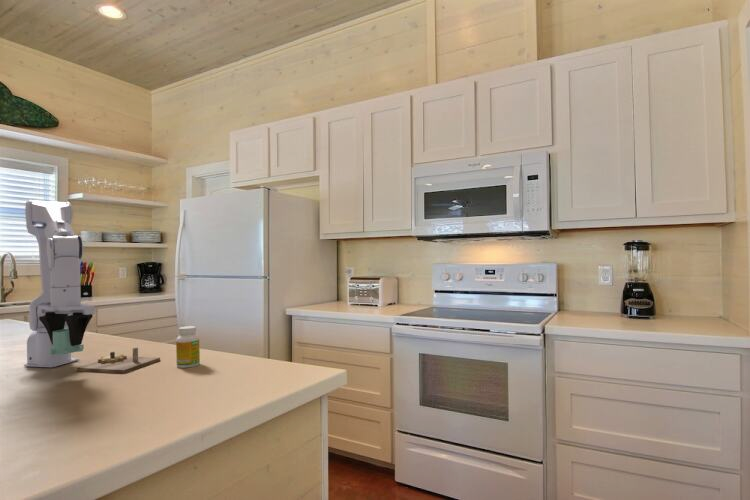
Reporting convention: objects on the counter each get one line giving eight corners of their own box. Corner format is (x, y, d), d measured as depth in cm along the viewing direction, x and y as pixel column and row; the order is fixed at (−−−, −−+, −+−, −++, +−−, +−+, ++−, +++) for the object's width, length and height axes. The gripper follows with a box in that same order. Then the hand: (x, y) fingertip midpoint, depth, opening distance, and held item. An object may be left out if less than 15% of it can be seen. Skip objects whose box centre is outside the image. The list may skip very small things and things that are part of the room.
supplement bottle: (194, 368, 105) (193, 329, 105) (172, 368, 105) (171, 329, 105) (203, 362, 110) (202, 325, 110) (182, 362, 110) (182, 325, 110)
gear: (40, 354, 97) (40, 332, 97) (68, 347, 103) (68, 327, 103) (64, 355, 95) (64, 333, 95) (91, 348, 102) (91, 327, 102)
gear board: (76, 370, 105) (76, 353, 105) (116, 358, 116) (116, 343, 116) (123, 373, 101) (123, 355, 101) (160, 360, 113) (159, 344, 113)
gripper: (23, 288, 97) (24, 347, 97) (74, 288, 94) (76, 349, 94) (53, 285, 104) (54, 341, 104) (102, 285, 100) (103, 342, 100)
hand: (66, 344), depth 99 cm, fingers closed on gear, 5 cm apart
